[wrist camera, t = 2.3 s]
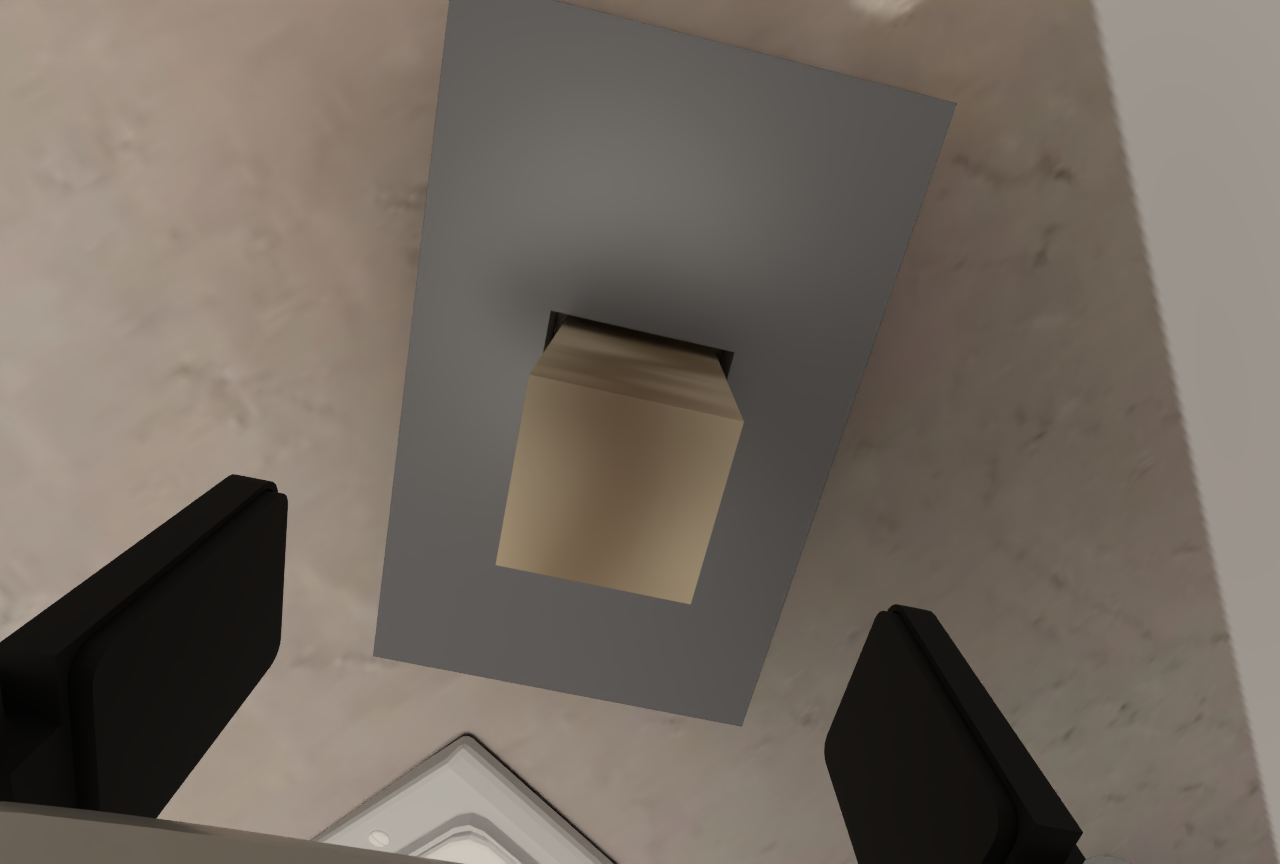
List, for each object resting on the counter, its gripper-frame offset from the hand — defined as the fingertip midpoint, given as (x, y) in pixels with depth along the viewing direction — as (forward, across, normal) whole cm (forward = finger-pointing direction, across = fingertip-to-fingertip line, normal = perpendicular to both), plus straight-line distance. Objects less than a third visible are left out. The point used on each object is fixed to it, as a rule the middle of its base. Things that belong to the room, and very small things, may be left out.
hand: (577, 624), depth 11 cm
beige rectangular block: (+14, -1, +1) cm, 14 cm away
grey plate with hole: (+14, -1, +1) cm, 14 cm away
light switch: (+14, +2, +25) cm, 29 cm away
